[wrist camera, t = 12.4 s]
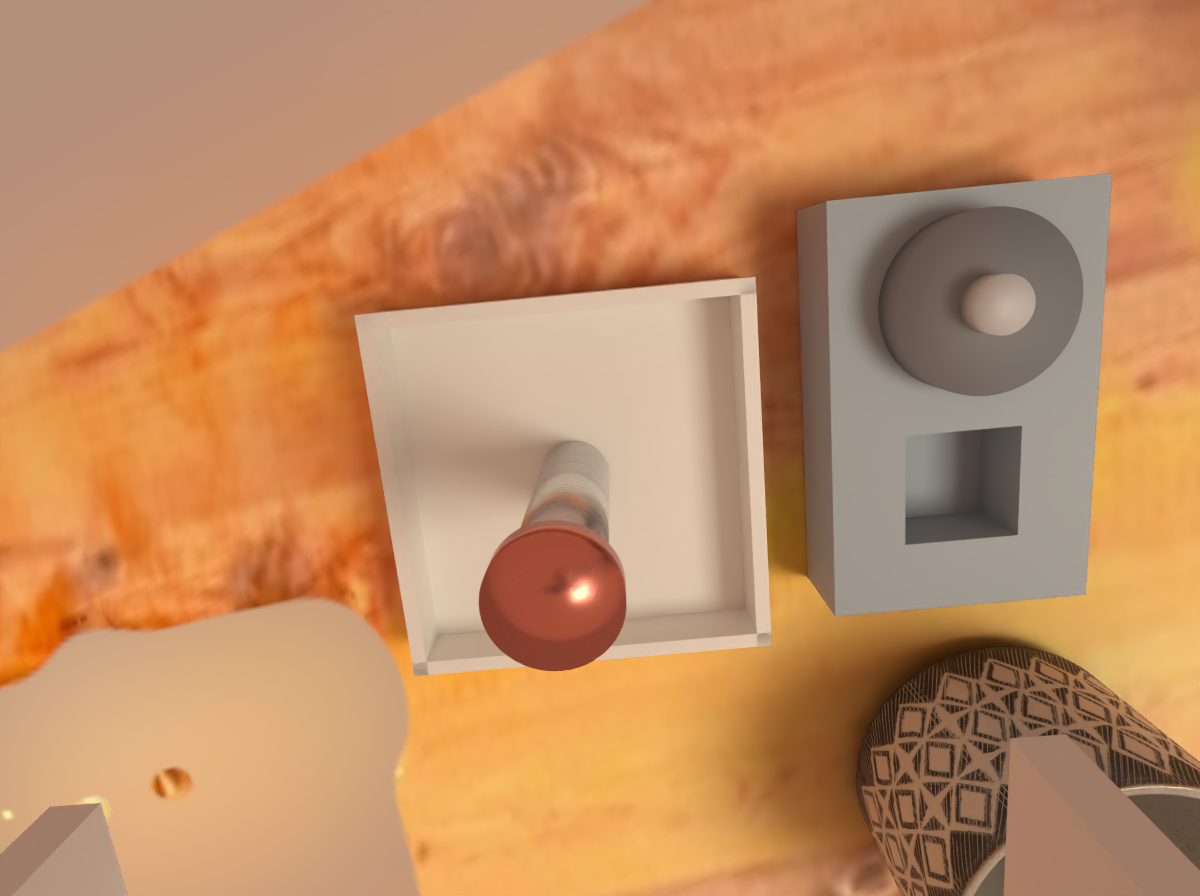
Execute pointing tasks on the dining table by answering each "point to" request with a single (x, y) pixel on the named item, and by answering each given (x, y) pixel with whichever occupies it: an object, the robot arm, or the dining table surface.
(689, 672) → the dining table surface
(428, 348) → the tray
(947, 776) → the planter
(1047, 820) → the robot arm
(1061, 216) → the block
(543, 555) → the lock pin
